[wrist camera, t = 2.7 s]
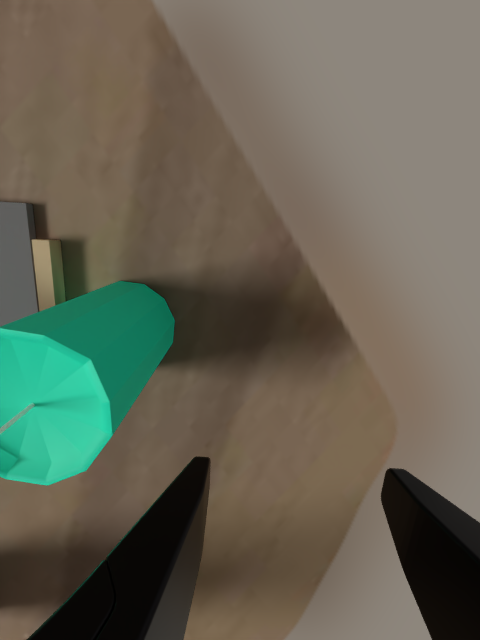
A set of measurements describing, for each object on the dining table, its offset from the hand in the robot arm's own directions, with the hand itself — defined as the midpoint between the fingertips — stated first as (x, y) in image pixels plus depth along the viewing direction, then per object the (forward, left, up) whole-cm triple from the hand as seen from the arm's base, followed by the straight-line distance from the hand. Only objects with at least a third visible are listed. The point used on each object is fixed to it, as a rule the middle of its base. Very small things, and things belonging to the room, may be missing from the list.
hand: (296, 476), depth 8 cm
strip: (0, +14, -13) cm, 19 cm away
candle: (0, +9, -13) cm, 16 cm away
